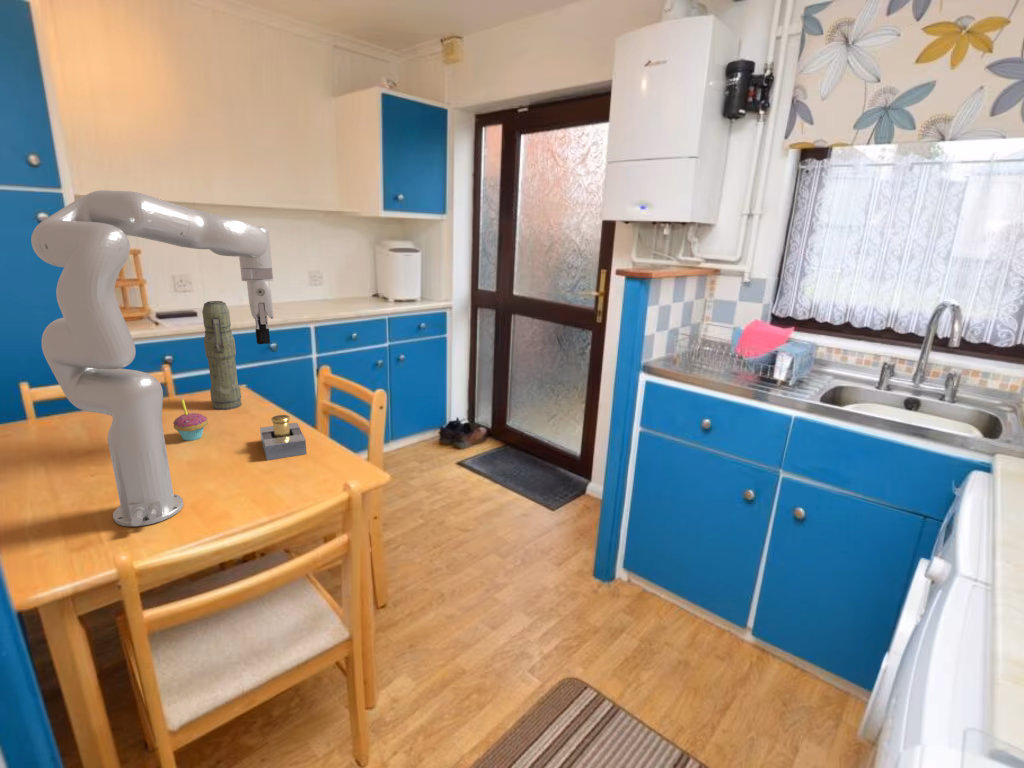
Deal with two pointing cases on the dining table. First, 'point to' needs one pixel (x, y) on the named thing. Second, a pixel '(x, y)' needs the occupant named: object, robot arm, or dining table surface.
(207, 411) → the dining table surface
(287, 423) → the brass capped cylinder
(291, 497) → the dining table surface
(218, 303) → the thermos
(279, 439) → the jig
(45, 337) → the robot arm
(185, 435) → the cupcake
